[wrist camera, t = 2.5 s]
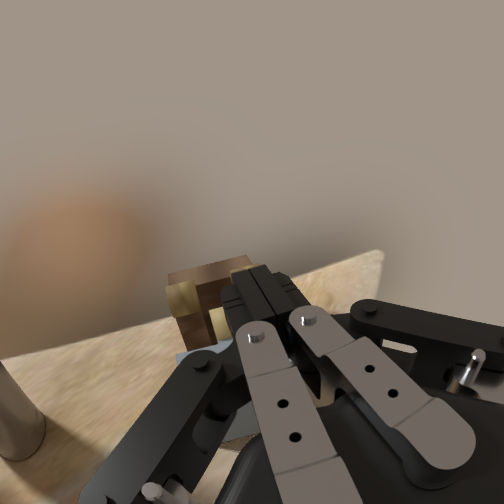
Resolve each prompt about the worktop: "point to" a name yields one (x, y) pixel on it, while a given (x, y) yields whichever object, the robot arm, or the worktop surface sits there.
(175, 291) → the fixed leaf
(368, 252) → the worktop surface
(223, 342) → the grey block
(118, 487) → the robot arm
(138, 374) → the worktop surface
